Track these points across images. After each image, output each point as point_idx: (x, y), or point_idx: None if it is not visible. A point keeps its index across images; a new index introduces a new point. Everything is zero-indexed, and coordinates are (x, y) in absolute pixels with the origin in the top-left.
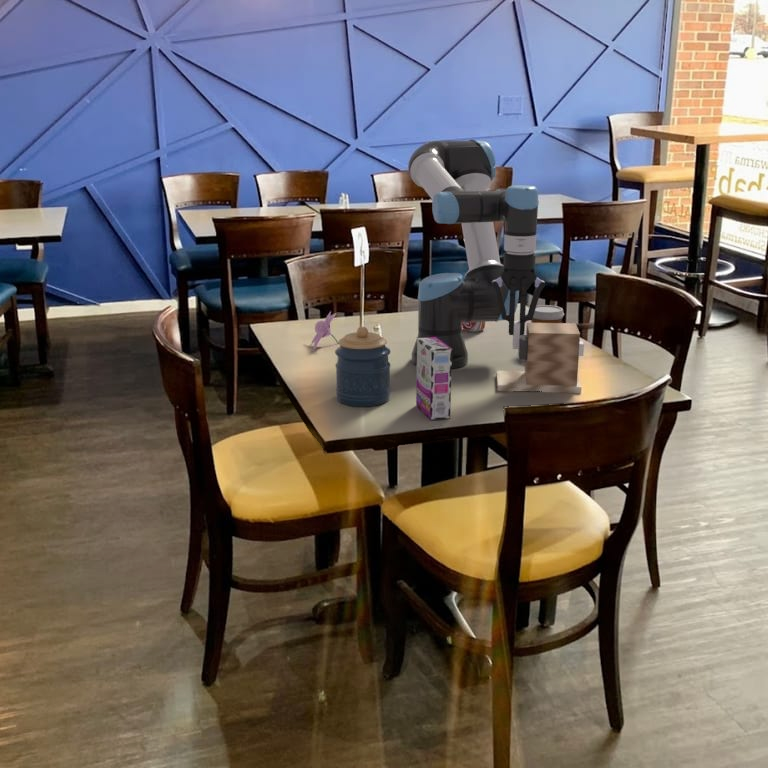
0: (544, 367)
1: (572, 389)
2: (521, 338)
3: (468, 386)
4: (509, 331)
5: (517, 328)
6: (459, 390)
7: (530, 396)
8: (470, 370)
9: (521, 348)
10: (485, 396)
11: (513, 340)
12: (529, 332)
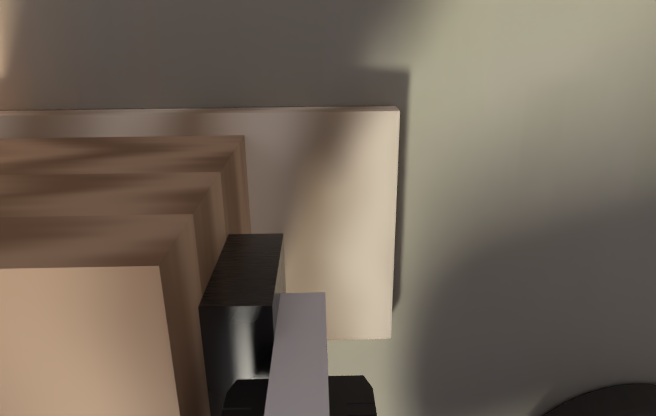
0: (117, 163)
1: (3, 114)
2: (257, 353)
3: (534, 168)
4: (368, 397)
5: (291, 407)
6: (588, 101)
7: (226, 33)
8: (496, 386)
9: (261, 270)
10: (465, 11)
11: (325, 330)
12: (156, 286)
